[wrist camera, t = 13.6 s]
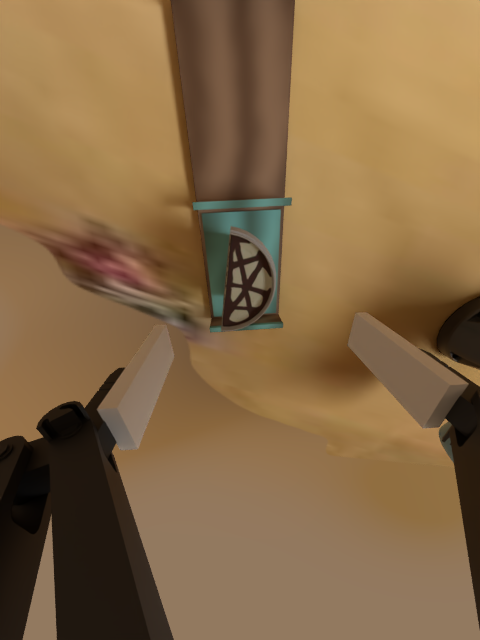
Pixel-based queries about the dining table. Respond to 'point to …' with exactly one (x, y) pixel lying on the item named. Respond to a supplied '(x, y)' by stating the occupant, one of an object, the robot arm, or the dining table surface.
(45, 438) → the robot arm
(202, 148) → the rack
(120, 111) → the dining table surface
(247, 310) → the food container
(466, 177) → the dining table surface
